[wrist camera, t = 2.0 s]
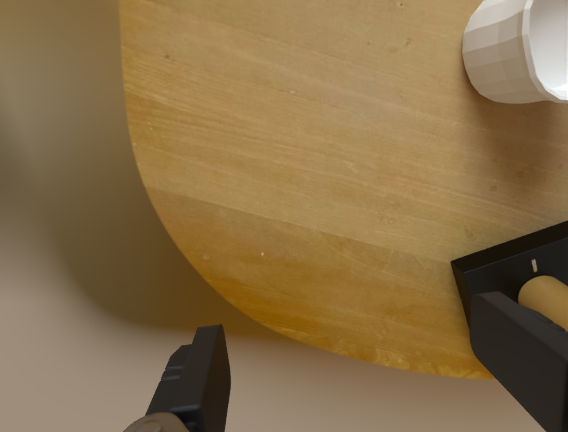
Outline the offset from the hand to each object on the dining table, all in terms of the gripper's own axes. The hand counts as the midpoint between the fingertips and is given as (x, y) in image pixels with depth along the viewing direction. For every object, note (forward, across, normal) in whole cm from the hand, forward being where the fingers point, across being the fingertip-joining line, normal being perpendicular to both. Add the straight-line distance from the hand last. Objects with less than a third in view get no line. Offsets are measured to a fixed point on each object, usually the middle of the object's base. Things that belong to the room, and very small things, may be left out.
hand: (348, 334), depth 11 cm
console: (+27, -25, +13) cm, 39 cm away
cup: (+25, -21, -12) cm, 35 cm away
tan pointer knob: (+24, -25, +13) cm, 37 cm away
